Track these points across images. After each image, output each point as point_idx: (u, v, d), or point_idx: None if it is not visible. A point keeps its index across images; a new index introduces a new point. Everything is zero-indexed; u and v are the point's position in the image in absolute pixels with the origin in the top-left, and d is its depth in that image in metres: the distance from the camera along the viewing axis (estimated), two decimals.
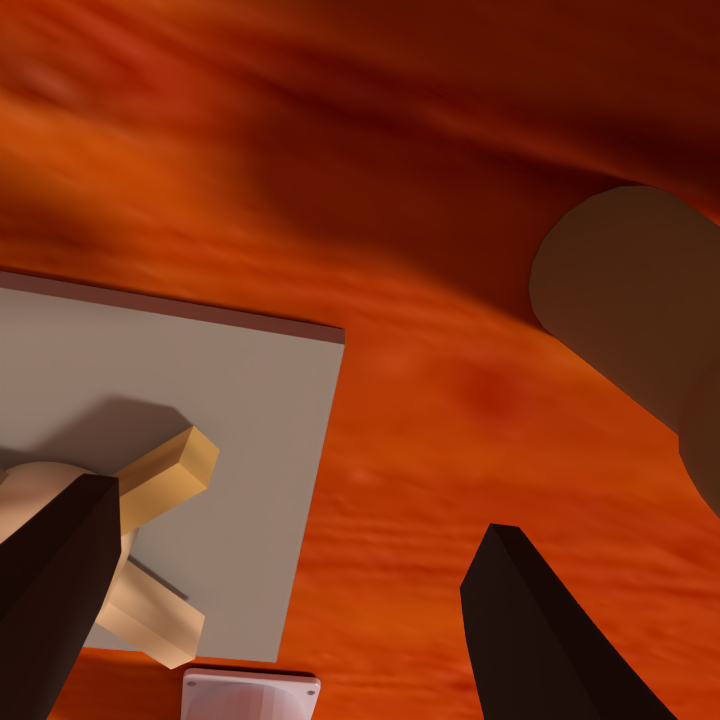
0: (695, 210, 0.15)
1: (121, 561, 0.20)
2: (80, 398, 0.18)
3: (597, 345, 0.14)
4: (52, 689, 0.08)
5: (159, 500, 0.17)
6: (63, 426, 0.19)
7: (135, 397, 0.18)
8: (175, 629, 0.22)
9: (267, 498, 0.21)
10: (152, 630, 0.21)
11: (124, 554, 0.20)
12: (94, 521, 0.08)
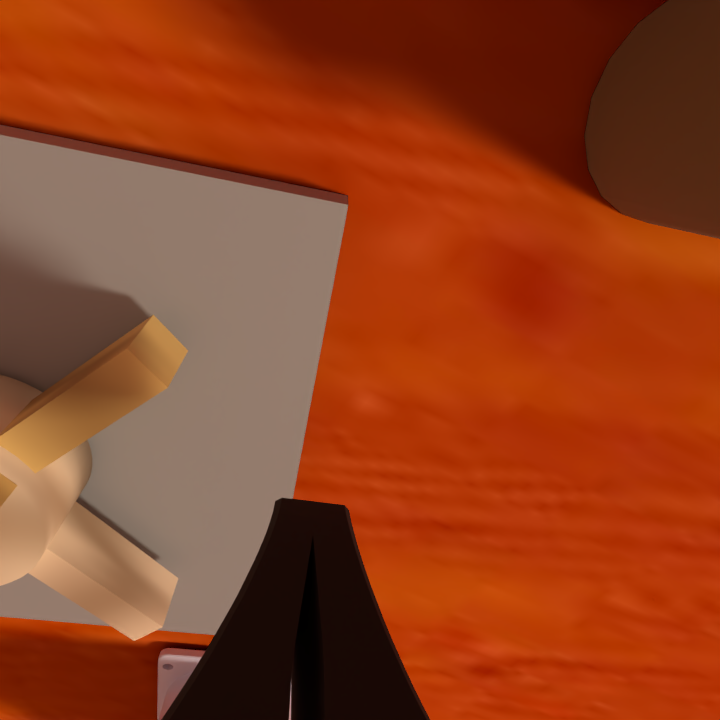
0: None
1: (65, 497, 0.15)
2: (8, 281, 0.14)
3: (703, 158, 0.10)
4: None
5: (105, 405, 0.13)
6: None
7: (79, 281, 0.14)
8: (138, 590, 0.18)
9: (251, 425, 0.17)
10: (108, 589, 0.17)
11: (69, 489, 0.16)
12: None
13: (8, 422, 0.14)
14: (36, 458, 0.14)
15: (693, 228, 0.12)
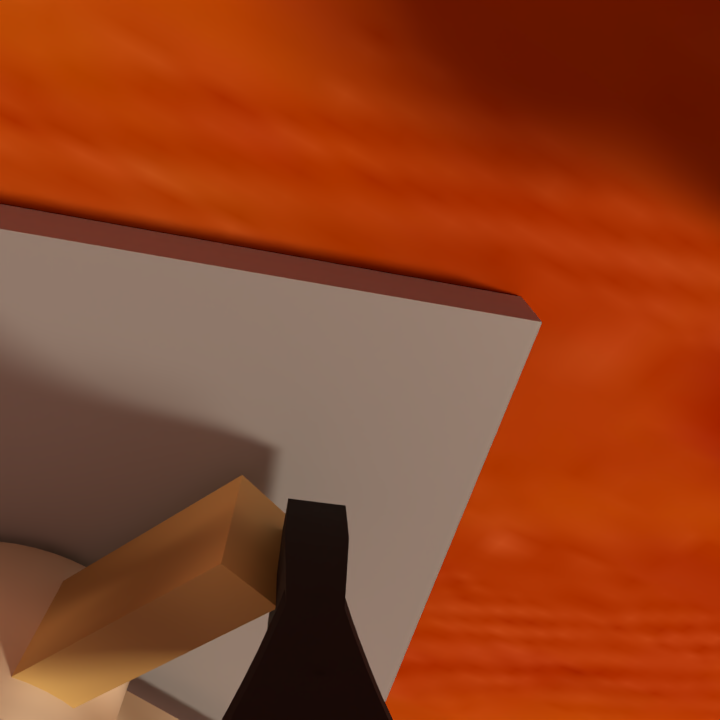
0: None
1: (112, 715, 0.11)
2: (33, 429, 0.10)
3: None
4: None
5: (181, 630, 0.09)
6: (5, 477, 0.10)
7: (136, 426, 0.10)
8: None
9: (359, 588, 0.13)
10: None
11: (118, 699, 0.11)
12: None
13: (32, 632, 0.10)
14: (75, 691, 0.10)
15: None
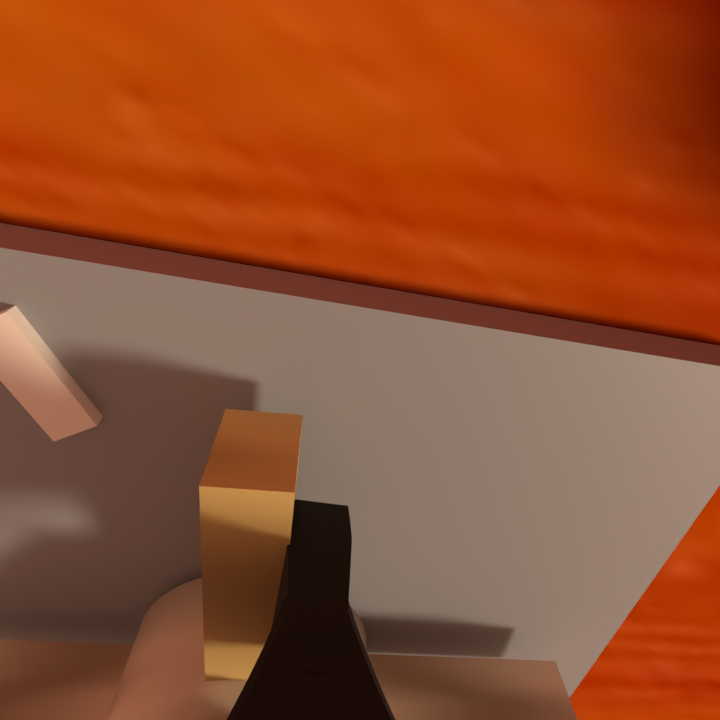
0: None
1: None
2: (324, 473, 0.11)
3: None
4: None
5: (256, 567, 0.08)
6: None
7: (413, 469, 0.11)
8: (519, 716, 0.12)
9: (565, 611, 0.14)
10: None
11: None
12: None
13: None
14: None
15: None
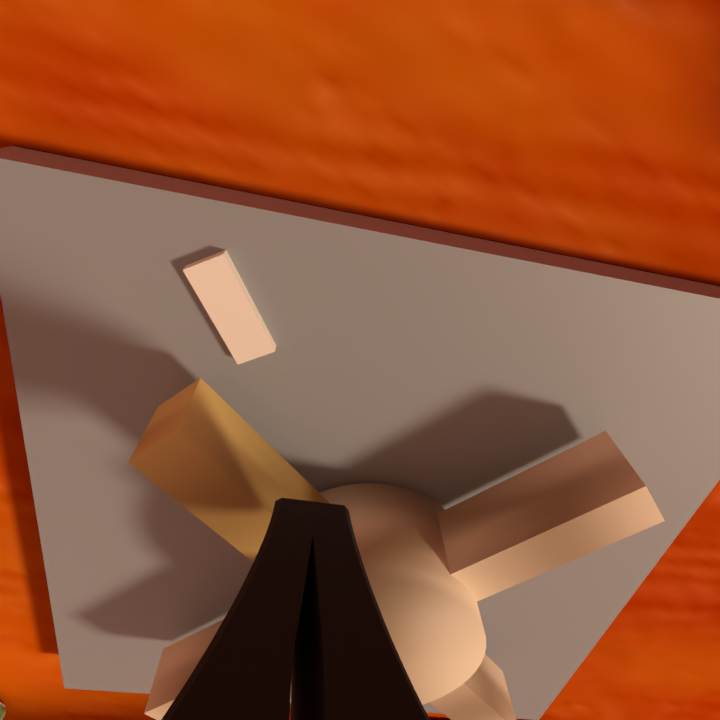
0: None
1: (387, 538, 0.13)
2: (445, 397, 0.13)
3: None
4: None
5: (217, 491, 0.11)
6: (406, 435, 0.14)
7: (519, 396, 0.13)
8: (574, 494, 0.12)
9: None
10: (541, 531, 0.12)
11: (386, 528, 0.13)
12: None
13: None
14: None
15: None
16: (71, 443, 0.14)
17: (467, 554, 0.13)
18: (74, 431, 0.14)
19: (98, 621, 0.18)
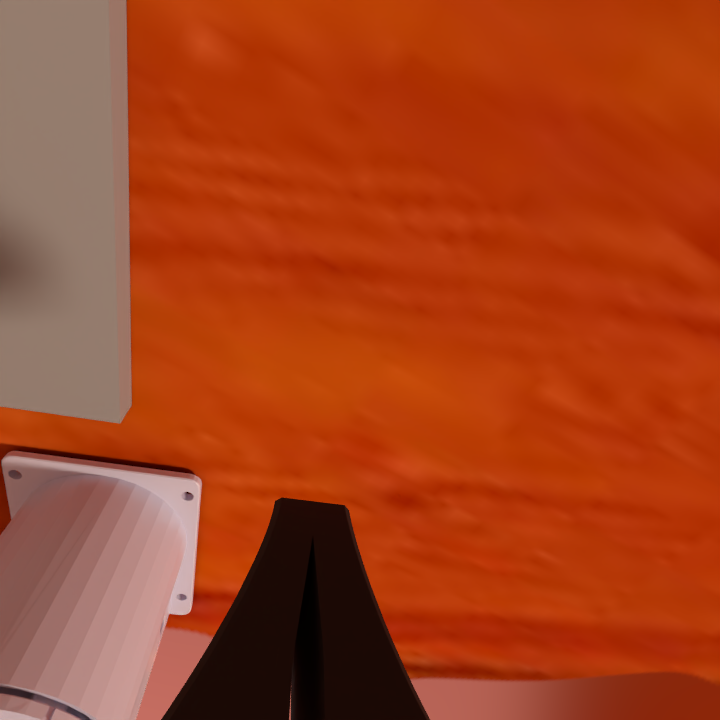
0: None
1: None
2: None
3: None
4: None
5: None
6: None
7: None
8: None
9: (36, 39, 0.13)
10: None
11: None
12: None
13: None
14: None
15: None
16: None
17: None
18: None
19: None
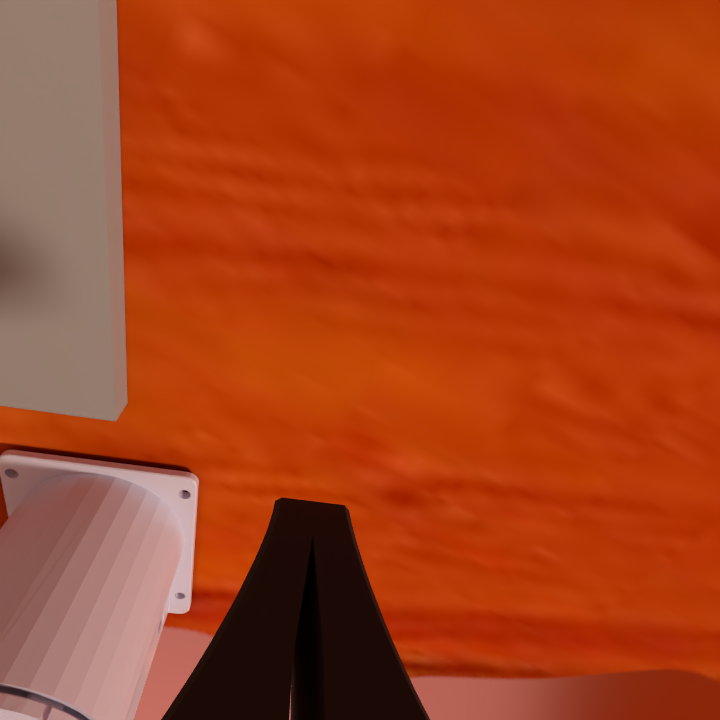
0: None
1: None
2: None
3: None
4: None
5: None
6: None
7: None
8: None
9: (25, 34, 0.13)
10: None
11: None
12: None
13: None
14: None
15: None
16: None
17: None
18: None
19: None
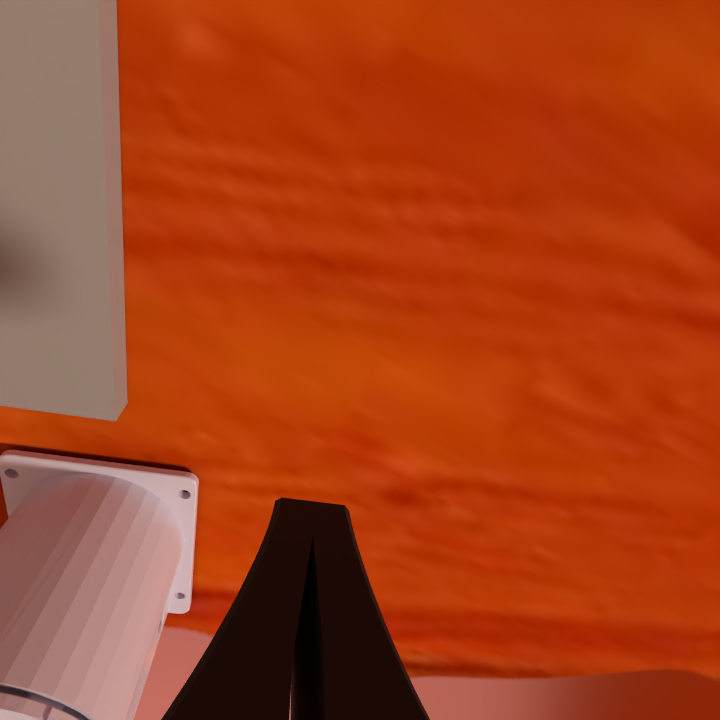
0: None
1: None
2: None
3: None
4: None
5: None
6: None
7: None
8: None
9: (25, 34, 0.13)
10: None
11: None
12: None
13: None
14: None
15: None
16: None
17: None
18: None
19: None
